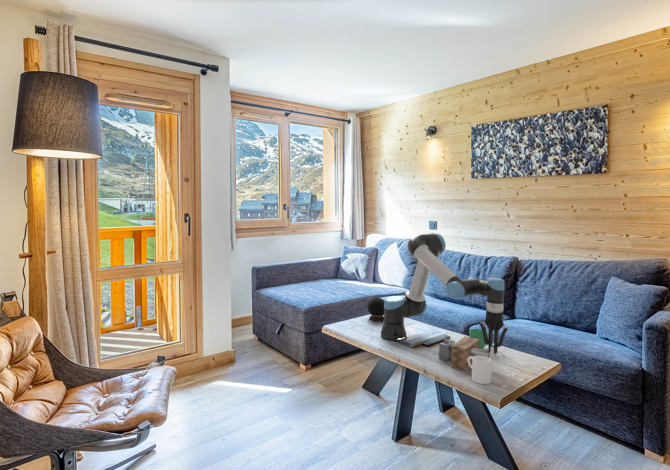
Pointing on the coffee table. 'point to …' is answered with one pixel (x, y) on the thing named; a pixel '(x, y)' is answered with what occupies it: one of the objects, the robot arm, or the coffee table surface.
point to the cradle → (445, 350)
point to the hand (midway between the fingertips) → (492, 359)
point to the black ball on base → (376, 309)
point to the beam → (463, 352)
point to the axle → (474, 351)
